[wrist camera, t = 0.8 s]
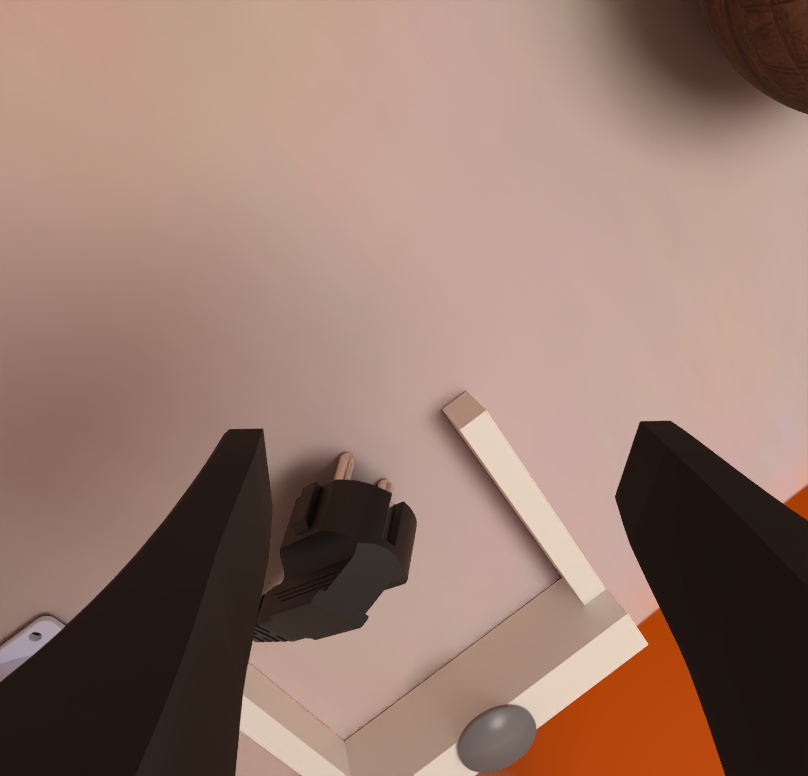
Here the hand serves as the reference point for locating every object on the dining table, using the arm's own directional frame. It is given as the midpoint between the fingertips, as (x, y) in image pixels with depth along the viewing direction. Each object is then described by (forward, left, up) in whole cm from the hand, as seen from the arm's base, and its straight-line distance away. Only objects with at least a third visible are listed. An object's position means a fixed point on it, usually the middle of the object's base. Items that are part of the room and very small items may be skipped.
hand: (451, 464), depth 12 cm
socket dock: (-7, -17, -16) cm, 25 cm away
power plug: (-9, -10, -17) cm, 21 cm away
